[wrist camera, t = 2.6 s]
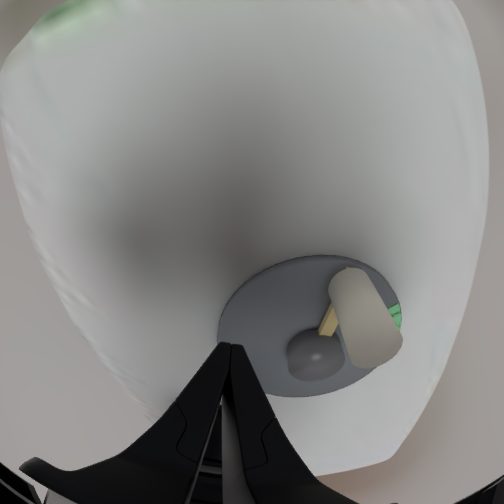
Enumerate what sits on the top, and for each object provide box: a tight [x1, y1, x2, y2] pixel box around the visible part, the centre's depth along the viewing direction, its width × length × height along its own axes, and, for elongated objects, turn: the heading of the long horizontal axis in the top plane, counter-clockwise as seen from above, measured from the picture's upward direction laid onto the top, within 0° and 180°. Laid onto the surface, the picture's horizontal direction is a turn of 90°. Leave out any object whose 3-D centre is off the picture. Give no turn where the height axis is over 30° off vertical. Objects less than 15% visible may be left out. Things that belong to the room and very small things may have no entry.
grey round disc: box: [217, 255, 402, 397], centre depth 19 cm, size 14×14×1 cm
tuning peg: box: [287, 267, 403, 382], centre depth 15 cm, size 9×4×6 cm, turn 168°
